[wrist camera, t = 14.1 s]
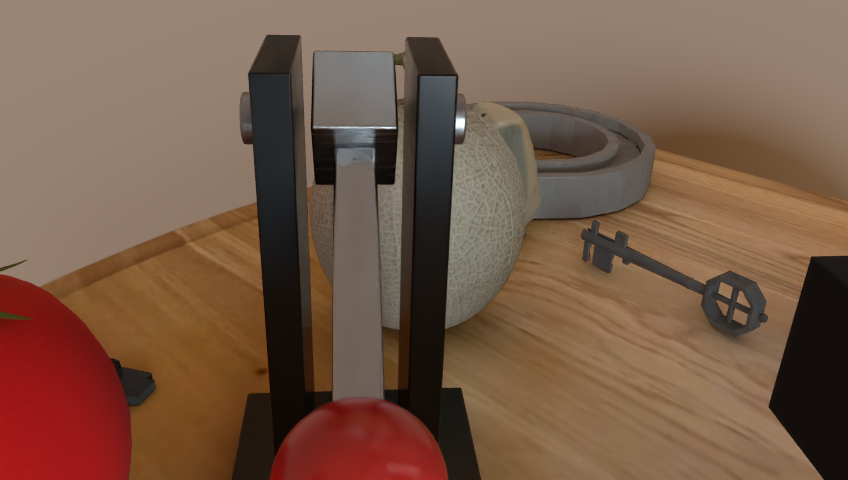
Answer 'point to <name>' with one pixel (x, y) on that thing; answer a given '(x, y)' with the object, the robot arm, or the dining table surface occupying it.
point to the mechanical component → (586, 159)
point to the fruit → (470, 222)
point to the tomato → (57, 393)
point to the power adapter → (516, 151)
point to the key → (683, 281)
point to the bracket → (290, 265)
